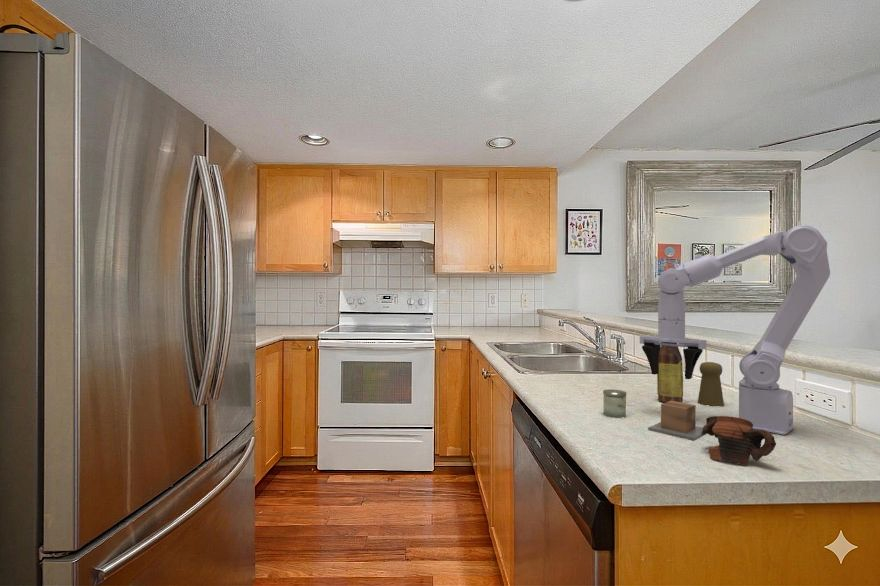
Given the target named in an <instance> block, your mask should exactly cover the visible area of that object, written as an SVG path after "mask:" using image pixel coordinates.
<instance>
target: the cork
mask: <svg viewBox="0 0 880 586" xmlns="http://www.w3.org/2000/svg"><path fill="white" fill-rule="evenodd" d="M699 372H700V374H701V378H700V385H699V391H698V398H697V403H698V404H699V403H700V404H699V405H702V404H703V405H702V406H706V405H709V406H708V407H713V406H722V407H724V406H725V403H724V396H723V395H724V394H723V388H722V382H721V375H722V373H723V365H722V364H720V363H718V362H713V361H705V362H701V363H700V364H699ZM723 405H724V406H723Z"/></svg>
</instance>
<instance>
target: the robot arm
mask: <svg viewBox="0 0 880 586" xmlns="http://www.w3.org/2000/svg"><path fill="white" fill-rule="evenodd" d="M827 249H828V242H827V239H825V237H824V236H823V235H822V233H821V232H820V231H819V230H818V229H817V228H815V227H814V226H811V225H807V224H803V225H802V224H801V225H796V226H794V227H791V228H790V229H789V230H787V231H786V229H785V230H781V231H777V232H774V233H771V234H768V235H767V234H766V235H764V236H761V237H759V238H756V239H755V240H752V241H749V242H747V243H745V244H743V245H741V246H738V247H735V248H734V249H731V250H729V251H726V252H724V253H722V254H720V255H718V256H715V255H714V254H713V255H712V254H709V253H707V254H704V255H703V254H702V253H701V254H697V255H696V256H695V258H694V259H692V260H690V261H687V262H685V263H682V264H679V263H677V264H675V265H674V268H671V267H670V268H667V269H666V270H665V271H663V272H661V273H660V274H659V276H658V278H657V285H658V288H659V289H660V290H659V292H658V300H657V301H658V303H657V304H658V305H657V306H658V309H657V317H658V318H657V319H658V320H657V321H658V323H657V326H658V327H657V330H658V331H657V335H644V334H643V335H639V344H642V346H641V349H642V351H643V352H644V353H643V354H644V355H645V356H646V358H647V360H648V363H649V366H650V367H649V369H650V371H651V374H652V375H654V376H655V375H657V374H658V371H659V352H660V347H661V345H666V346H678V348H679V347H680V348H683V349H682V351H683V357H684V377H685V378H684V379H685V380H691V379H693V375H694V369H695V367H696V364H697V362H698V360H699V358H700V357H701V355H702V353H703V351H704V350H705V349H707V340H706V339H699V338H698V339H696V338H688V337H686V300H685V297H684V296H685V295H684V293H685V292H684V289H685V288H686V287H690V288H692V287H696V286H698V285H700V284H703V283H705V282H709V281H711V280H713V279H715V278H716V279H717V278H719V277H720V275H721V273H722V271H723V270H724V269H726V268H729V267H731V266H734V265H736V264H737V265H738V264H739V263H742V262H745V261H747V260H750V259H752V258H755V257H757V256H772V257H773V256H777V255H779V256H781V257H782V258H783V259H784V260H785V261H787V262H788V263H789V264H790V267H792V270H793V271H794V273H795V275H796V277H795V279H794V281H793V283H792V284H791V285H790V288H789V289H788V292H787V293H786V294H785V296H784V298H783V300H782V301H781V304H780V306H779V307H778V308H777V311H776V312H775V314H774V315H773V317H772V319H771V321H770V322H769V324H768V326H767V328H766V329H765V331H764V333H763V335H762V336H761V338H760V340H759V341H758V342H757V343H756V344H755V345H754V347H753V348H752V349H751V351H750V352H749V353H748V354H746V355H744V356H743V357H742V358H741V359H740V361H739V365H738V366H739V367H738V368H739V370H740V373H741V374H742V376H743V377H742V379H741V380H739V381H738V418H742V419H745V420H748V421H750V422H751V423H752V424H753V430H765V431H767V432H769V433H771V434H778V435H783V436H785V435H787V434H788V433H789V432H790V431H792V430H793V429H794V428H795V427H794V396H793V395H794V394H793V392H792V391H791V390H790V389H789V390H788V389H783V388H780V384H779V383H778V381H779V380H780V377H781V365H782V364H783V362H784V360H785V355H786V351H787V350H788V347H789V345H791V342H792V341H793V339H794V337H795V335H796V333H797V332H798V330H799V328H800V327H801V325H802V323H803V322H804V320H805V319H806V317H807V316H808V313H809V312H810V310H811V308H812V306H813V305H814V304H815V302H816V300H817V298H818V296H819V295H820V294H821V292H822V289H824V286H825V285H826V284H827V282H828V280H829V278H830V276H831V268H830V263H829V256H828V250H827ZM662 342H672V343H677V344H670V343H662Z"/></svg>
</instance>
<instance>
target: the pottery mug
mask: <svg viewBox="0 0 880 586" xmlns="http://www.w3.org/2000/svg"><path fill="white" fill-rule="evenodd" d="M705 421H706V424H704V425H703V429H702V433H701V435H703V436H705V435H706V434H707V435H709V436H711V437H713V436H714V437H715V438H716V439H717V443H718V445H717V446H716V445H714V446H709V447H708V452H709V453H708V454H709V459H710V460H712V461H724V462H729V463H733V464H738V465H740V466H741V465H742V466H746V467H748V466H749V462H750V461H749V460H750V459H751V457H752V460H753V461H756V462H758V461H759V460H760V459H761V458H762V457H766V456H768V455H770V454H771V453H772V452H773V451H774V449H775V447H776V446H777V443H776V440H775V436H774V435H773V433H772V432H767V431H765V430H757V429H753V424H752V423H751V422H750V421H748V420H745V419H742V418H739V417H737V416H730V415H728V416H727V415H712V416H708V417H706V419H705ZM704 434H705V435H704ZM763 440H764V442H763V444H762V441H763Z"/></svg>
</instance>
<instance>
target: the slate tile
mask: <svg viewBox="0 0 880 586" xmlns="http://www.w3.org/2000/svg"><path fill="white" fill-rule="evenodd" d="M703 427H704V426H703ZM703 427H701V426H698V425H695V429H694V430H692V431H690V432H688V433H682V432H678V431H674V430H669V429H665V428H661V421H659V422H657V423H655V424H654V425H651V426H649V427H647V430H648V431H653V432H657V433H661V434H664V435H669V436H673V437H677V438H682V439H685V440H690V441H696V440H697V439H699V438H701V437H703V436H705V435H706V434H704V435H701V433H702V429H703Z"/></svg>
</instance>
